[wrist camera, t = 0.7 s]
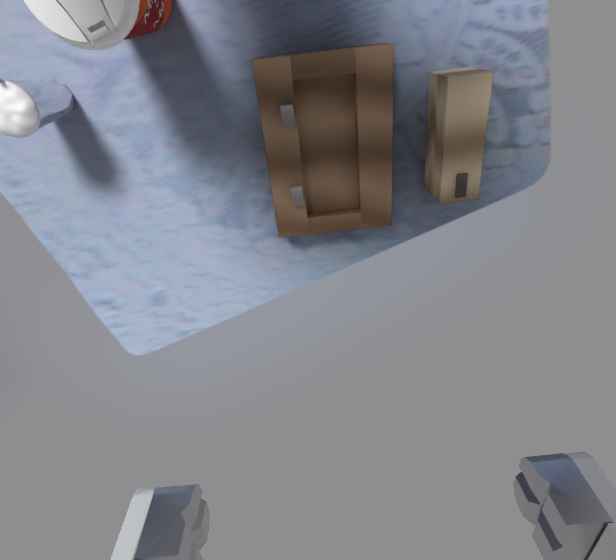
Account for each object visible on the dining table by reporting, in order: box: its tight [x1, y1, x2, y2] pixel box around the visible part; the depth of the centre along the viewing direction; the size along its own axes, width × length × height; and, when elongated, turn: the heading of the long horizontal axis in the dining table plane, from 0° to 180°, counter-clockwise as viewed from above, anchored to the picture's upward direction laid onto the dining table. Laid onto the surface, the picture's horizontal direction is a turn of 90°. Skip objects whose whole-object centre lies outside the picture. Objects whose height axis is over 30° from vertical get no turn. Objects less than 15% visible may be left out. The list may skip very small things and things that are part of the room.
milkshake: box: [0, 79, 74, 138], centre depth 36 cm, size 5×5×10 cm
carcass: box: [252, 43, 394, 237], centre depth 42 cm, size 18×13×4 cm
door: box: [424, 67, 493, 204], centre depth 41 cm, size 12×4×6 cm, turn 6°
